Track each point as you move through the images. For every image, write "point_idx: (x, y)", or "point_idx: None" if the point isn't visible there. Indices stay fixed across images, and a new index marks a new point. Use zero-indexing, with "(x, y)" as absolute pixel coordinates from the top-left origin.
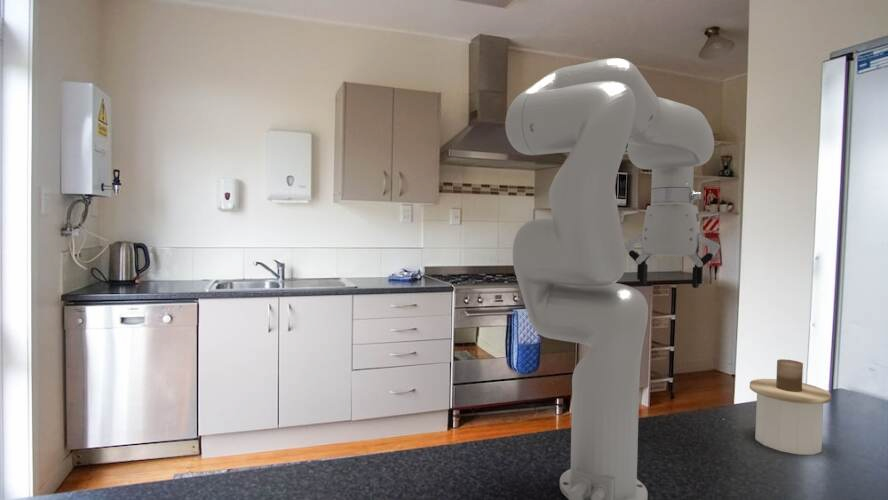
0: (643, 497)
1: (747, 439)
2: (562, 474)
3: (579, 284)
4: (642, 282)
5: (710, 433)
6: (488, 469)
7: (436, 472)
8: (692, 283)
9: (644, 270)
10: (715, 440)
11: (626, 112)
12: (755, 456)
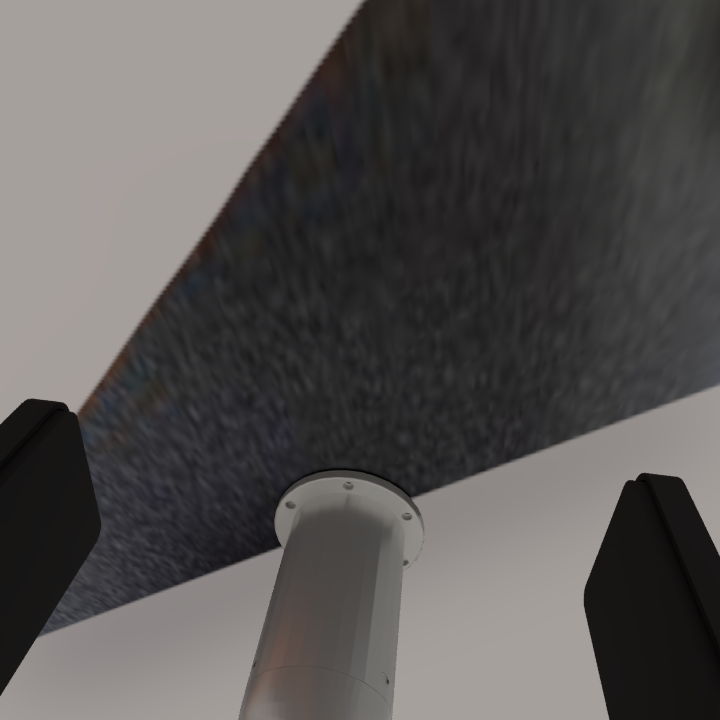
0: (418, 545)
1: (694, 69)
2: (275, 528)
3: None
4: (87, 540)
5: (567, 81)
6: (154, 525)
7: (98, 559)
8: (592, 629)
9: (12, 640)
10: (576, 145)
11: None
12: (679, 219)
